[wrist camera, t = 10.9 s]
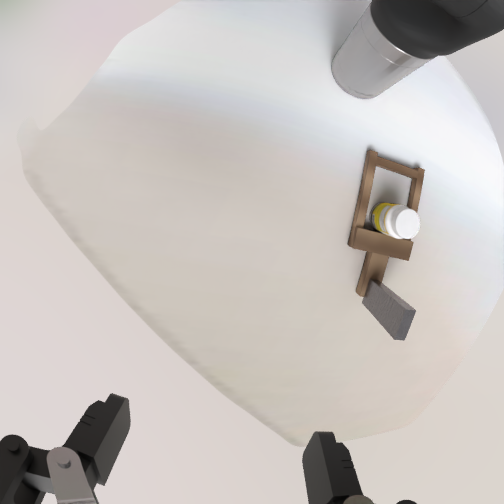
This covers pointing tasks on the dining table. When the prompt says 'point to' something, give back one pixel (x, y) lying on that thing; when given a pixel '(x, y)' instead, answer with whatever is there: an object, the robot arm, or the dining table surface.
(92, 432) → the robot arm
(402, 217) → the supplement bottle
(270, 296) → the dining table surface
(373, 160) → the strip frame
